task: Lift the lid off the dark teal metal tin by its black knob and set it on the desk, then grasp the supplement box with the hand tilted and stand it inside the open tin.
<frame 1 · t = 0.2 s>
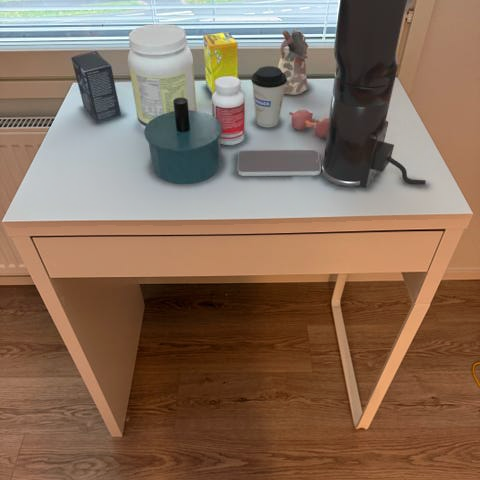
pill bottle: (229, 139, 98), on the table
supplement tub: (168, 124, 102), on the table
supplement box: (221, 91, 111), on the table
coffee cup: (267, 122, 101), on the table
box: (102, 113, 105), on the table
smartphone: (278, 165, 91), on the table
tin: (186, 164, 91), on the table
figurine: (323, 119, 100), point 1 cm above the table
figurine 2: (291, 88, 112), on the table
lid: (183, 131, 86), point 6 cm above the table, touching tin
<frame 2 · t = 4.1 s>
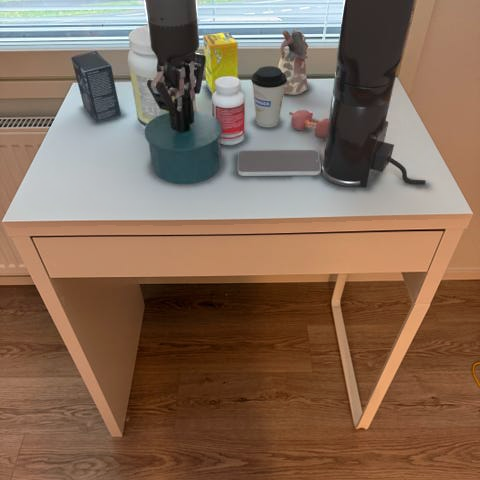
hand: (183, 125, 86), 8 cm above the table, tool pointing down, fingers closed on lid, 2 cm apart
lid: (183, 131, 86), point 7 cm above the table, touching gripper, tin
everything else where it was.
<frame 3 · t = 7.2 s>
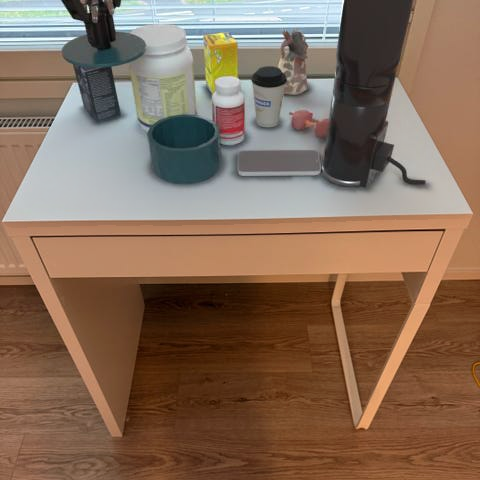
hand: (103, 43, 80), 19 cm above the table, tool pointing down, fingers closed on lid, 2 cm apart
lid: (104, 50, 81), point 18 cm above the table, touching gripper
everything else where it was.
when the fingers open (3 cm above the table, at t = 10.8 s): lid stays where it is, point 1 cm above the table.
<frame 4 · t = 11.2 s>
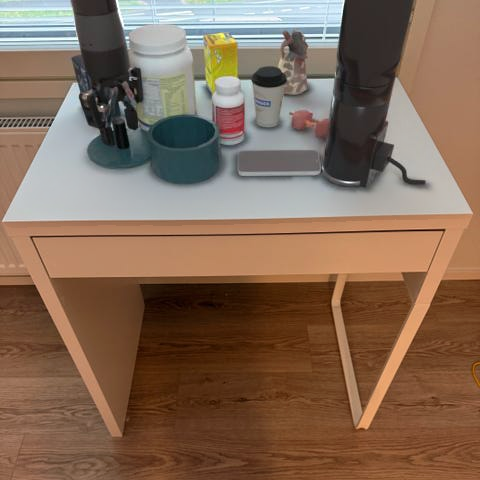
hand: (121, 136, 92), 3 cm above the table, tool pointing down, fingers open, 6 cm apart
lid: (123, 148, 94), point 1 cm above the table
everything else where it was.
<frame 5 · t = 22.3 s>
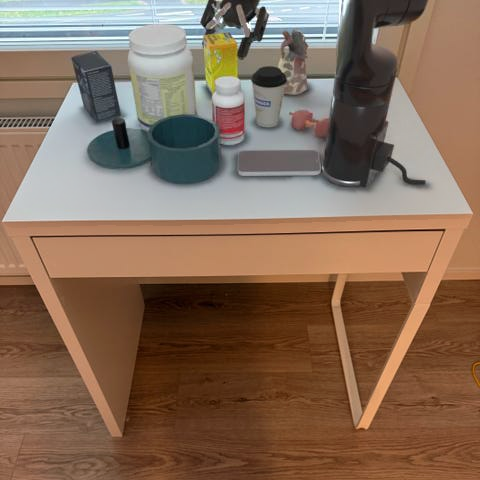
hand: (222, 54, 105), 8 cm above the table, tool tilted 45°, fingers closed on supplement box, 8 cm apart
supplement box: (221, 91, 111), on the table, touching gripper
everything else where it was.
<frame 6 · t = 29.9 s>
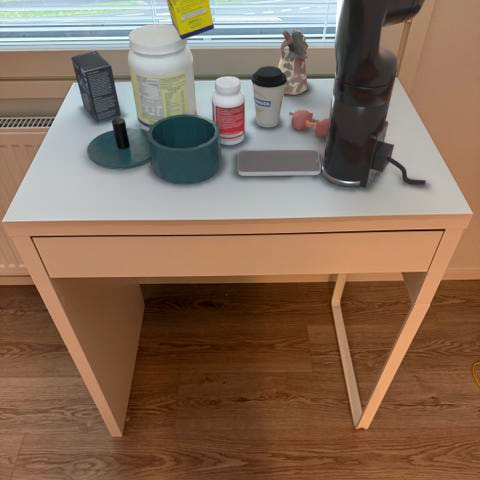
supplement box: (193, 28, 83), point 20 cm above the table, touching gripper
everything else where it was.
when the fingers open (10 cm above the table, at t = 36.8 s): supplement box drops 3 cm, resting on tin.
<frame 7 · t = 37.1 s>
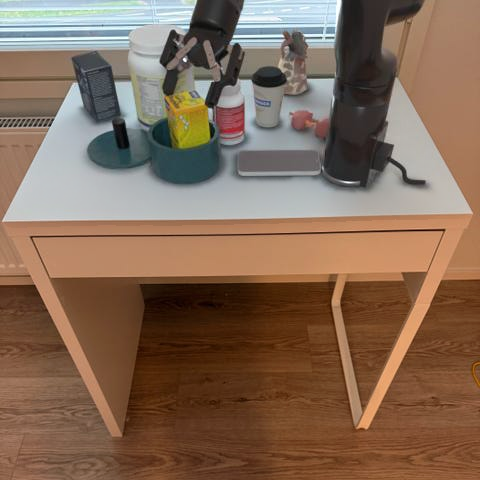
hand: (187, 101, 84), 11 cm above the table, tool tilted 45°, fingers open, 8 cm apart
supplement box: (192, 159, 92), resting on tin
everything else where it was.
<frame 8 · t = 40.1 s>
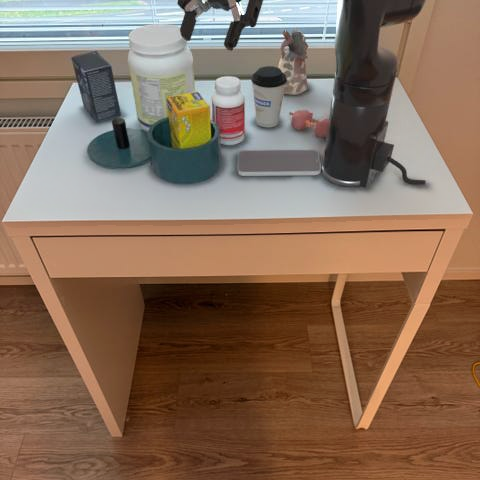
hand: (206, 43, 82), 18 cm above the table, tool tilted 45°, fingers open, 8 cm apart
nothing on the table moved.
at the end: lid inside the target area (0.1 cm from its centre), point 0.6 cm above the table; supplement box 1.6 cm off-centre in the tin, point 0.3 cm above the tin's base; supplement box tilted 0° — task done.
